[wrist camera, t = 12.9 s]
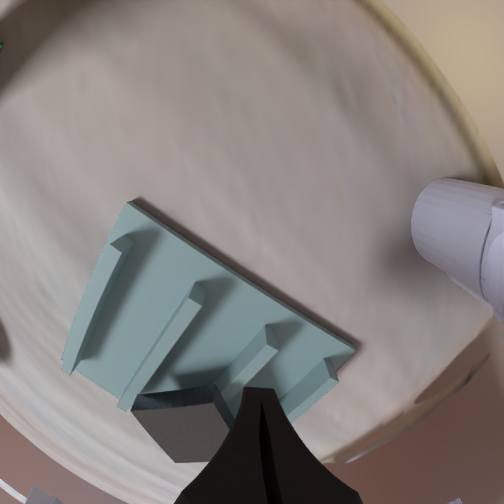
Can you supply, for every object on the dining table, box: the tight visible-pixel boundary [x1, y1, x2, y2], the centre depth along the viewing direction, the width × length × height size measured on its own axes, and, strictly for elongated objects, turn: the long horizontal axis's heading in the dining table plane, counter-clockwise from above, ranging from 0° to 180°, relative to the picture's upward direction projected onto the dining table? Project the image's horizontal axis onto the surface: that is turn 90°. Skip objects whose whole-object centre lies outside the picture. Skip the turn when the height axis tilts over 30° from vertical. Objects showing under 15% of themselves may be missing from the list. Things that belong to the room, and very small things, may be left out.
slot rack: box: [61, 201, 356, 423], centre depth 21 cm, size 21×18×3 cm
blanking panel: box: [131, 384, 235, 463], centre depth 20 cm, size 2×8×7 cm
